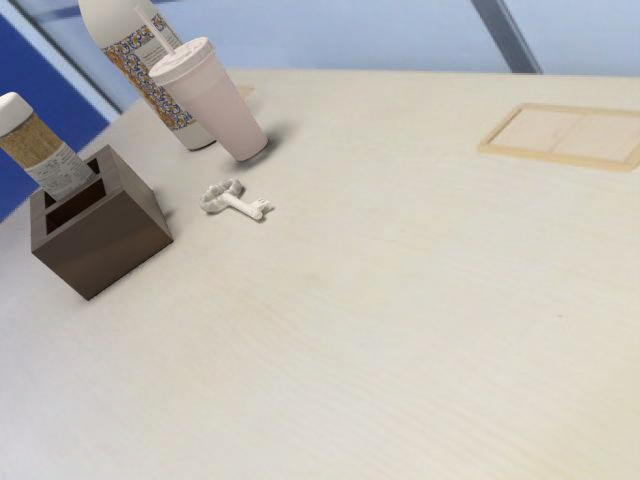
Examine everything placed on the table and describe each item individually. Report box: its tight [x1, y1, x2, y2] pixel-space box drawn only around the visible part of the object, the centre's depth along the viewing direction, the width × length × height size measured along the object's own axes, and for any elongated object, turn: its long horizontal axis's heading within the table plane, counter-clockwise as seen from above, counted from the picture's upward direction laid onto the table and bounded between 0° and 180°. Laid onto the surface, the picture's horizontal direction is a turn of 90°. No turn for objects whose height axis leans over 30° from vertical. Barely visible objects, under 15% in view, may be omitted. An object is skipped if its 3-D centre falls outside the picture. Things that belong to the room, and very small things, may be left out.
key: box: [198, 177, 271, 220], centre depth 66 cm, size 12×1×4 cm
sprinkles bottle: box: [0, 91, 96, 201], centre depth 70 cm, size 5×5×13 cm
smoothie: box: [134, 6, 269, 162], centre depth 69 cm, size 6×6×14 cm
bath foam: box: [77, 0, 217, 150], centre depth 76 cm, size 7×7×20 cm
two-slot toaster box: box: [29, 144, 174, 301], centre depth 70 cm, size 17×9×6 cm, turn 34°
